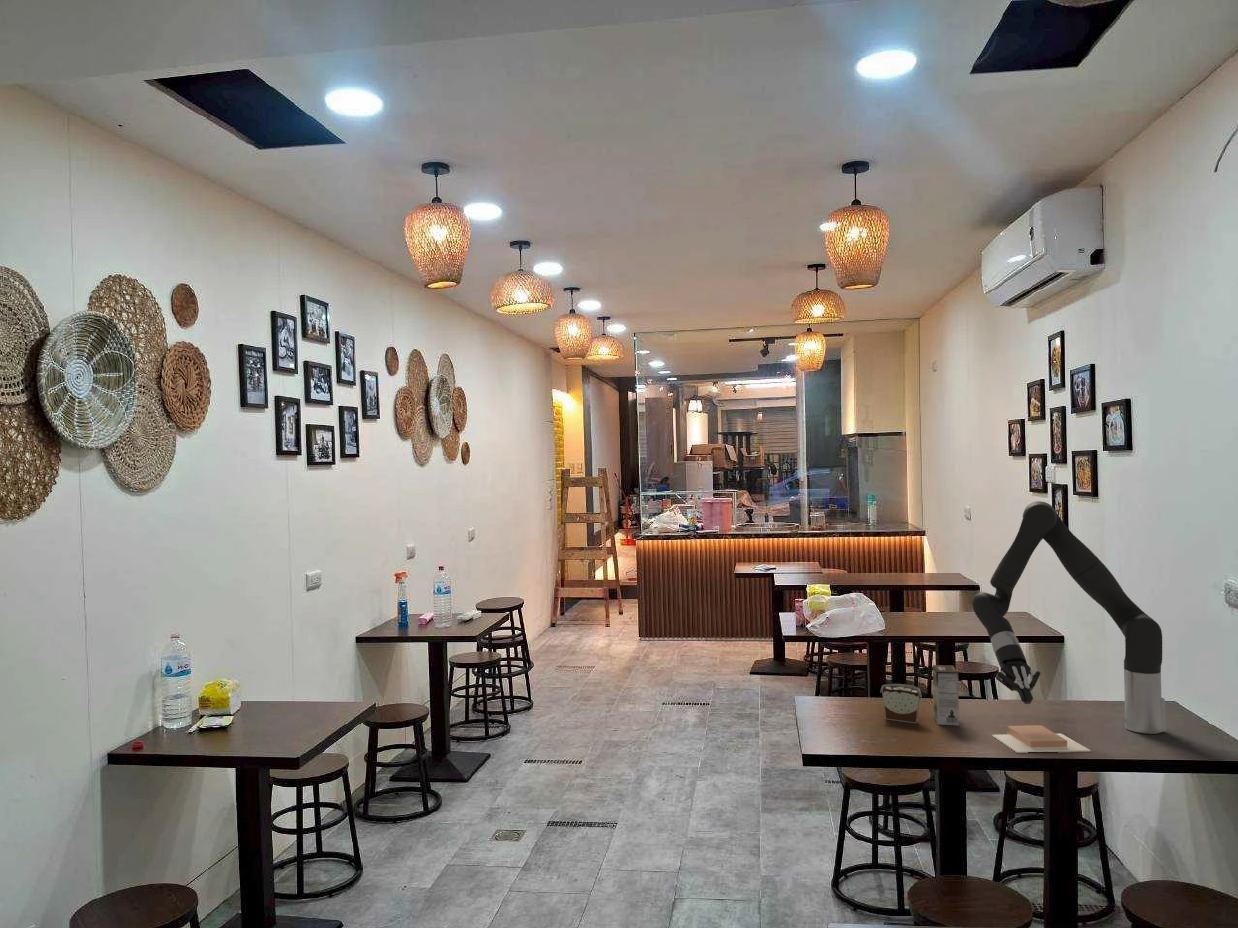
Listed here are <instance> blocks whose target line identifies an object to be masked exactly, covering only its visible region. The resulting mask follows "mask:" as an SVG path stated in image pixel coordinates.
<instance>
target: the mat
mask: <svg viewBox="0 0 1238 928" xmlns="http://www.w3.org/2000/svg"><path fill="white" fill-rule="evenodd" d="M1056 734H1057V735H1059V736H1060V737H1062V738H1064V739H1066V740H1067V748H1029V747H1028V746H1026V745H1025V744H1023V743H1022V742H1020V741H1019V740H1017V739H1015V738H1014V737H1012V736H1011V735H1009V734H1008V733H1006V734H1004V733H1003V734H991V737H993V738H994V739H995V738H996V739H995V740H997V741H998V740H999V741H998V742H1000V743H1001V742H1002V743H1001V744H1002V745H1004V746H1005V747H1007V748H1009V749H1010V750H1011V749H1012V750H1011V751H1013V752H1014V751H1015V753H1016V754H1029V753H1028V752H1058V753H1091V752H1092V751H1091V749H1089V748H1087V747H1086V746H1084V745H1081V743H1078V742H1076V741H1075V740H1074V739H1071V738H1070V737H1068V736H1066V735H1065V734H1063V733H1056Z"/></svg>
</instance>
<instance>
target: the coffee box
mask: <svg viewBox="0 0 1238 928" xmlns="http://www.w3.org/2000/svg"><path fill="white" fill-rule="evenodd" d="M959 690H960V689H959V672H958V670H957V668H956V667H955V665H954V664H953V665H952V664H951V665H949V664H948V665H946V664H945V665H943V664H938V665H937V664H933V665H932V703H933V704H932V705H933V707H932V708H933V717H934V719H935V721H936V723H937V725H939V726H940V725H941V726H942V725H943V726H960V718H959V717H960V714H959V713H960V712H959V711H960V708H959V705H960V704H959V703H960V701H959V699H960V698H959V695H960V693H959Z"/></svg>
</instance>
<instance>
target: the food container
mask: <svg viewBox="0 0 1238 928" xmlns="http://www.w3.org/2000/svg"><path fill="white" fill-rule="evenodd" d="M879 693H881V694H882V701H883V702H882V703H883V709H884V717H885V720H890V721H895V722H896V721H897V722H901V723H902V722H903V723H908V724H918V719H919V718H918V717H919V706H920V699H922V697H923V696H922V692H921V689H920V688H919V687H917V686H914V685H911V684H905V683H904V684H902V683H888V684H882V685H881V688H880V691H879Z"/></svg>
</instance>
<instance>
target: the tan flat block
mask: <svg viewBox="0 0 1238 928" xmlns="http://www.w3.org/2000/svg"><path fill="white" fill-rule="evenodd" d="M1006 734H1009V735H1011V736H1012V737H1014V738H1015V739H1017V740H1019V741H1020V742H1022V743H1023V744H1025V745H1026V746H1028V747H1029V748H1067V740H1066V739H1064V738H1062V737H1060V736H1059V735H1057V734H1058V733H1055V732H1053V731H1052V730H1050V729H1048V728H1047V727H1045V726H1044V725H1041V724H1040V725H1039V724H1038V725H1036V724H1035V725H1033V724H1032V725H1006Z"/></svg>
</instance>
